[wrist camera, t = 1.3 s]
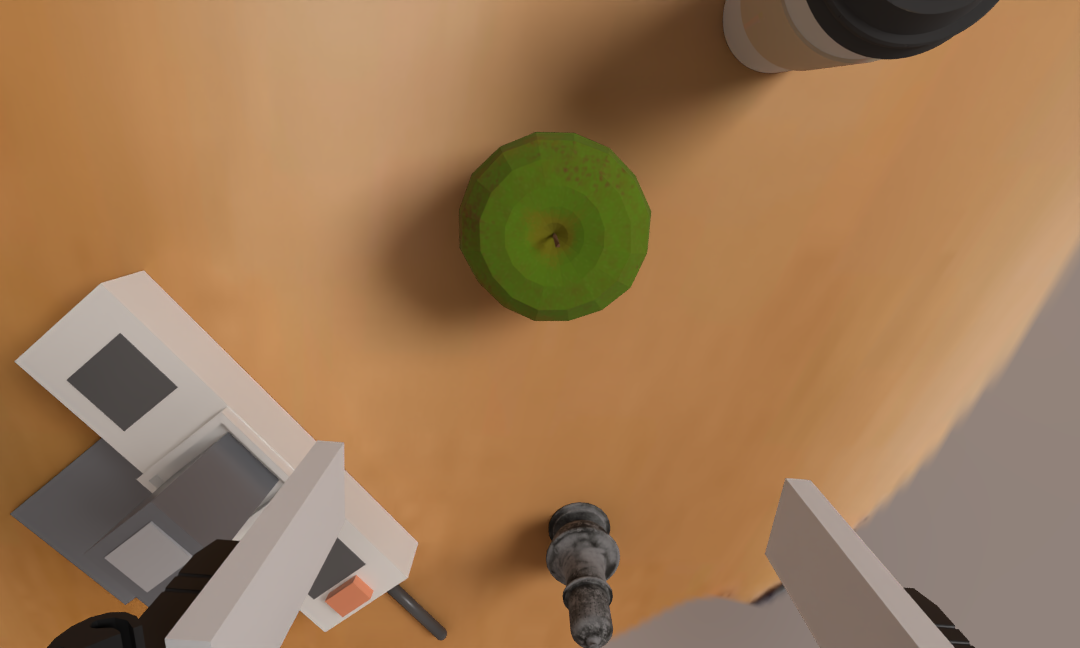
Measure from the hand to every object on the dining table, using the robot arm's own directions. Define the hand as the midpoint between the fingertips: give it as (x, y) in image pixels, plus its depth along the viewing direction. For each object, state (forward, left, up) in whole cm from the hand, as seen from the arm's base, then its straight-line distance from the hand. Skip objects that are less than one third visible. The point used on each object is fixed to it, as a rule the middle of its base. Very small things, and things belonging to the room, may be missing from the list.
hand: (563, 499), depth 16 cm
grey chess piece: (+18, -10, -25) cm, 32 cm away
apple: (-4, +4, -25) cm, 25 cm away
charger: (-4, -26, -21) cm, 34 cm away
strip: (0, -26, -25) cm, 36 cm away
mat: (-6, -40, -25) cm, 48 cm away
